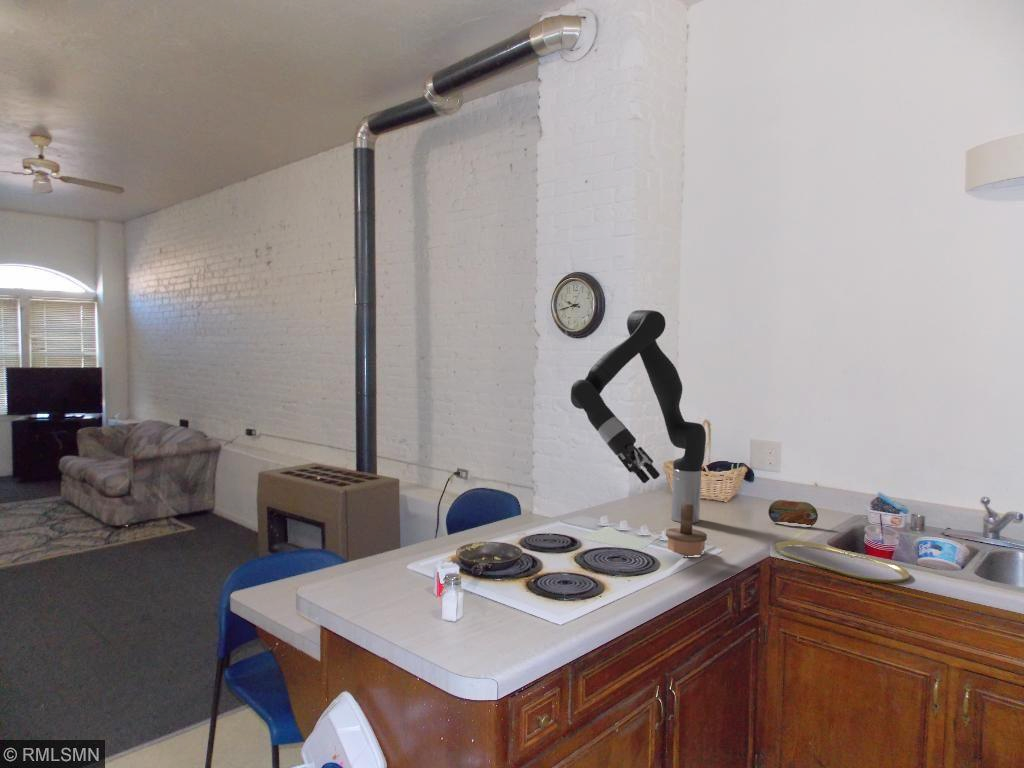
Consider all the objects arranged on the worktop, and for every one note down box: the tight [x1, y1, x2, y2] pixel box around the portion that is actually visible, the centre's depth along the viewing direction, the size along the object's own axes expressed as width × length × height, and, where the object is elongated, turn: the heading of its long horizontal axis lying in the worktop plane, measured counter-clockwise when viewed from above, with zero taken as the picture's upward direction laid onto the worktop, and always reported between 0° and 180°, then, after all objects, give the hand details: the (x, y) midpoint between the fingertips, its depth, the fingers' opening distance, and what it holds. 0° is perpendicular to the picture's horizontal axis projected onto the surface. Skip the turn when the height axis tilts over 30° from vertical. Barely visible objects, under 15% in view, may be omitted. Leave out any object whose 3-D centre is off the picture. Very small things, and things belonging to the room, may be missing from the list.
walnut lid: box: [665, 503, 708, 542], centre depth 177 cm, size 11×11×9 cm
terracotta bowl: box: [667, 537, 706, 557], centre depth 177 cm, size 9×9×4 cm
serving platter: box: [773, 540, 911, 584], centre depth 173 cm, size 19×35×2 cm, turn 31°
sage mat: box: [580, 526, 660, 551], centre depth 187 cm, size 18×18×1 cm
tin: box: [767, 499, 819, 527], centre depth 213 cm, size 15×3×8 cm, turn 68°
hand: (652, 479), depth 182 cm, fingers open, 8 cm apart
